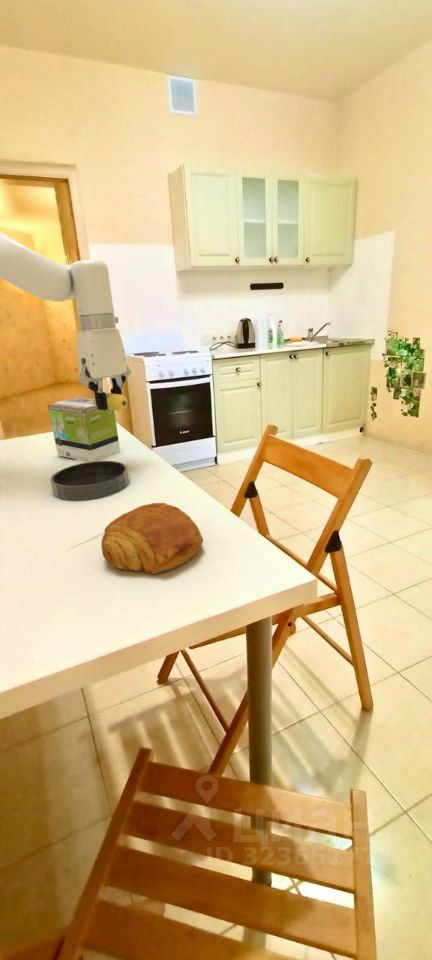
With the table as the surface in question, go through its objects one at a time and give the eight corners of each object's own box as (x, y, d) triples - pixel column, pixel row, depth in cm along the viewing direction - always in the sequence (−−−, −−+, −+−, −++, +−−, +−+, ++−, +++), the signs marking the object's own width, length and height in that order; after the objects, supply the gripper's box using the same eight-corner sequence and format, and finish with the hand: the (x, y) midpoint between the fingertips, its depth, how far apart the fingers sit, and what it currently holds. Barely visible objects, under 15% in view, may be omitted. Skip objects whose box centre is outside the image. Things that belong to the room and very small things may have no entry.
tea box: (56, 457, 122) (45, 403, 117) (85, 447, 130) (76, 396, 124) (93, 464, 114) (83, 406, 109) (122, 453, 121) (114, 399, 116)
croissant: (94, 565, 71) (78, 522, 68) (172, 520, 79) (161, 480, 76) (142, 602, 60) (126, 553, 57) (226, 546, 69) (216, 500, 65)
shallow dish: (38, 492, 97) (35, 477, 96) (100, 470, 109) (98, 457, 107) (81, 509, 87) (78, 492, 86) (145, 483, 99) (143, 468, 97)
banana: (90, 408, 105) (88, 393, 104) (103, 405, 108) (100, 390, 107) (119, 412, 98) (117, 396, 97) (132, 409, 101) (130, 393, 100)
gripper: (117, 322, 105) (128, 400, 111) (54, 327, 93) (70, 413, 100) (138, 320, 100) (148, 402, 106) (74, 325, 89) (89, 417, 95)
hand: (110, 407), depth 103 cm, fingers closed on banana, 3 cm apart
